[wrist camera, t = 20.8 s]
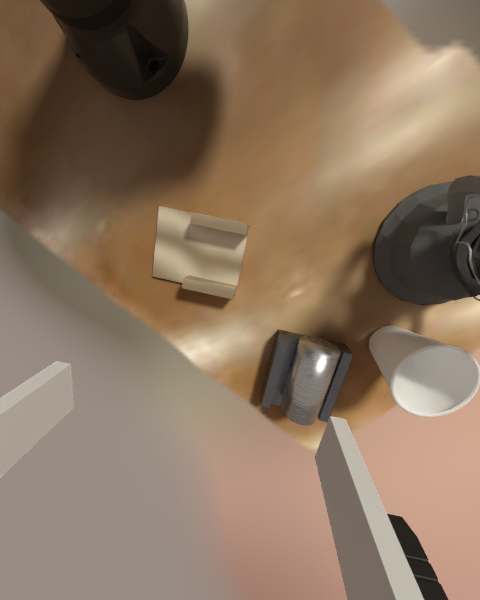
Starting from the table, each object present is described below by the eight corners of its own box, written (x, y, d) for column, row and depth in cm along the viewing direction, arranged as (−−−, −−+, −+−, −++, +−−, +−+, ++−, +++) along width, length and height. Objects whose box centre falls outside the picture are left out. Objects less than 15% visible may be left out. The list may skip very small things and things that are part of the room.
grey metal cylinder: (279, 394, 41) (281, 420, 35) (297, 332, 38) (303, 350, 32) (312, 402, 41) (320, 429, 35) (333, 341, 37) (346, 360, 32)
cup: (349, 364, 40) (380, 410, 29) (364, 309, 37) (404, 339, 26) (409, 372, 39) (463, 423, 29) (428, 317, 36) (496, 351, 26)
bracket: (160, 206, 36) (149, 203, 32) (249, 225, 35) (248, 223, 32) (153, 275, 39) (143, 279, 35) (235, 293, 38) (233, 299, 35)
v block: (278, 329, 39) (279, 338, 36) (345, 344, 39) (353, 354, 35) (261, 393, 43) (260, 406, 39) (322, 407, 42) (327, 422, 39)
